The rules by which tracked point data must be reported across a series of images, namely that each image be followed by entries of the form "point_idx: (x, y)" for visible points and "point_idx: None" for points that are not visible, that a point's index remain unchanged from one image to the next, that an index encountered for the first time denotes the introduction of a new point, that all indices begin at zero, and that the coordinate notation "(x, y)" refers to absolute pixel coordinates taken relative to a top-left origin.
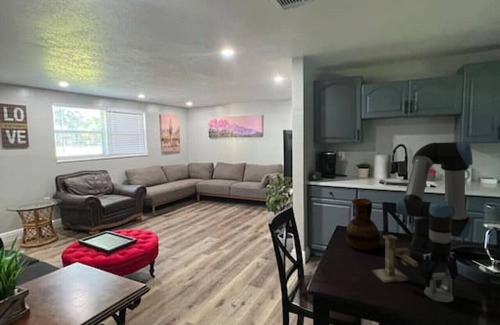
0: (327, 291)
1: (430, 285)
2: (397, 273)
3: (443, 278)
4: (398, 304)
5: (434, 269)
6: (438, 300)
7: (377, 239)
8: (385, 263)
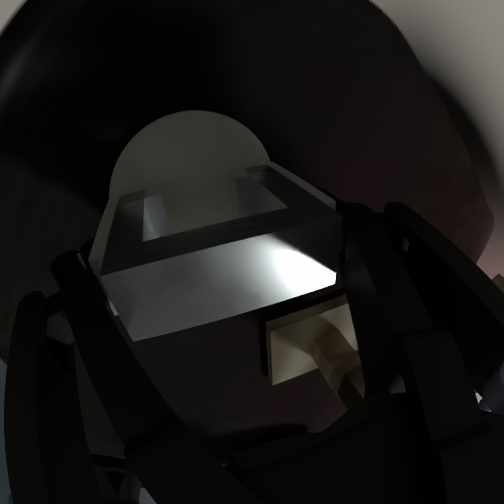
0: (488, 216)
1: (308, 188)
2: (293, 353)
3: (200, 233)
4: (423, 126)
5: (378, 284)
6: (240, 124)
7: None
8: None
